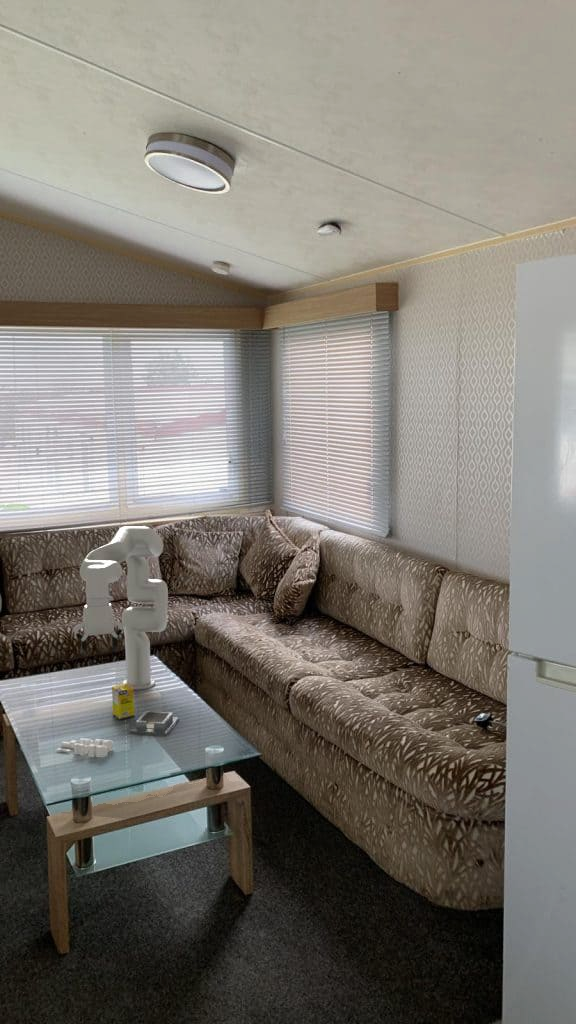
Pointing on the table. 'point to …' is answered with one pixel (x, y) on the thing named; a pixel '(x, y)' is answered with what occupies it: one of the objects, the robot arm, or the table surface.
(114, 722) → the table surface
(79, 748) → the modular blocks
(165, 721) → the grey square tray
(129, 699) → the supplement box
